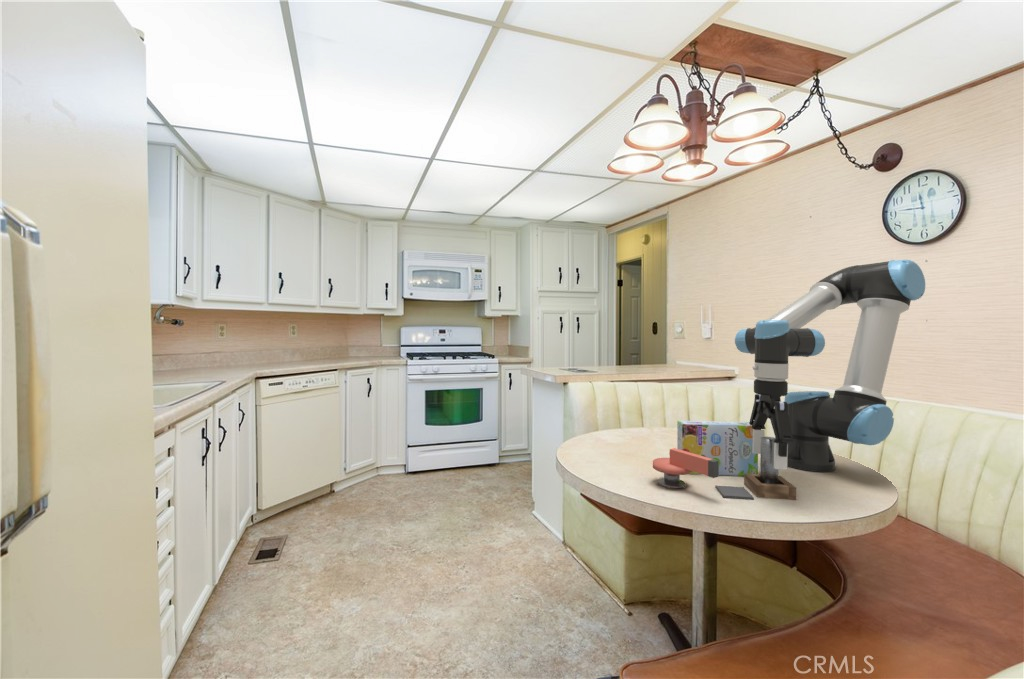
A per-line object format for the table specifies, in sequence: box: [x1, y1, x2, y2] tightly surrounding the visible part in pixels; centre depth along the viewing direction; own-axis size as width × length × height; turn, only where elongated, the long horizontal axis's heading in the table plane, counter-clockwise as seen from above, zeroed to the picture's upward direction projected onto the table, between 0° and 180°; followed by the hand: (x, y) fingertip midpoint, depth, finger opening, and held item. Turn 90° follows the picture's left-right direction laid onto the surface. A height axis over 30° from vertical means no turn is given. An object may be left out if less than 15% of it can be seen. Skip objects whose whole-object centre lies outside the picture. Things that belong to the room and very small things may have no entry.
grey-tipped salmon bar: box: [652, 447, 720, 479], centre depth 112 cm, size 18×10×6 cm, turn 31°
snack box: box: [676, 420, 759, 477], centre depth 125 cm, size 21×6×15 cm, turn 84°
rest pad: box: [714, 485, 755, 501], centre depth 109 cm, size 7×7×1 cm
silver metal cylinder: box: [759, 436, 779, 484], centre depth 110 cm, size 4×4×14 cm
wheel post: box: [657, 473, 686, 490], centre depth 115 cm, size 7×7×4 cm
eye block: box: [743, 473, 797, 501], centre depth 110 cm, size 9×9×3 cm
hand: (768, 460), depth 110 cm, fingers open, 13 cm apart
